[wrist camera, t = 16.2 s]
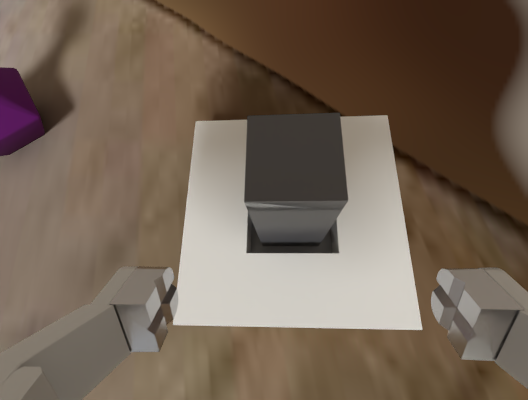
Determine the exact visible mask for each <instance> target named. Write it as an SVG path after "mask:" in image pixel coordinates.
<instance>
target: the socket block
mask: <svg viewBox="0 0 528 400" xmlns="http://www.w3.org/2000/svg"><path fill="white" fill-rule="evenodd" d="M340 119H341V129H342V139H343V150H344V160H345V171H346V181H347V192H348V202H347V203H346V205H345V206H344V208H343V209H342V211H341V213H340V214H339V216H338V217H337V219H336V220H335V222H334V223H333V225H332V226H331V228H330V230H329V231H328V233H327V234H326V236H325V237H324V239H323V240H322V242H321V243H320V245H319V246H262V244H261V242H260V239H259V237H258V234H257V232H256V229H255V227H254V225H253V222H252V220H251V217H250V215H249V212H248V210H247V207H246V205H245V203H244V192H245V165H246V139H247V120H220V121H196V124H195V133H194V142H193V151H192V160H191V169H190V178H189V187H188V195H187V204H186V213H185V222H184V231H183V240H182V249H181V258H180V267H179V276H178V285H177V292H178V306H177V312H176V314H175V317H174V321H173V325H200V326H250V327H300V328H350V329H400V330H422V325H421V318H420V312H419V306H418V300H417V294H416V288H415V282H414V275H413V269H412V263H411V257H410V251H409V245H408V239H407V232H406V226H405V220H404V214H403V208H402V202H401V196H400V189H399V183H398V177H397V171H396V165H395V159H394V152H393V146H392V140H391V134H390V128H389V122H388V116H387V115H380V116H347V117H340Z"/></svg>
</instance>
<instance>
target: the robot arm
mask: <svg viewBox="0 0 528 400" xmlns="http://www.w3.org/2000/svg"><path fill="white" fill-rule="evenodd" d="M173 279H174V274H173V271H172V269H171V268H169V267H141V266H139V267H132V266H124V267H121V268H119V269H118V271H117V272H116V273H115V274H114V276H113V277H112V278H111V279H110V281H109V282H108V283H107V284H106V285H105V287H104V288H103V289H102V290H101V292H100V293H99V294H98V295H97V297H96V298H95V299H94V300H93V301H92V303H91V304H90V305H83V306H82V307H80V308H78V309H76V310H75V311H73V312H71V313H69V314H68V315H66V316H64V317H62V318H61V319H59V320H57V321H55V322H54V323H52V324H50V325H48V326H47V327H45V328H43V329H41V330H40V331H38V332H36V333H34V334H33V335H31V336H29V337H27V338H26V339H24V340H22V341H21V342H19V343H17V344H15V345H14V346H12V347H10V348H8V349H7V350H5V351H3V352H1V353H0V400H82V399H83V398H84V397H85V396H86V395H87V394H88V393H89V392H90V391H91V390H93V389H94V388H95V387H96V386H97V385H98V384H99V383H100V382H101V381H102V380H103V379H104V378H105V377H106V376H107V375H108V374H110V373H111V372H112V371H113V370H114V369H115V368H116V367H117V366H118V365H119V364H120V363H121V362H122V361H123V360H124V359H125V358H127V357H128V356H129V355H130V354H131V353H130V352H160V349H161V347H162V345H163V342H164V340H165V338H166V335H167V333H168V329H167V324H168V323H169V322H171V321H172V320H173V319H174V317H175V314H176V312H177V306H178V292H177V288H176V287H175V286H174V285H172V284H171V283H172V281H173ZM436 280H437V281H438V283H439V284H440V286H438V287H437V288H436V289H435V290H433V293H432V297H431V305H432V311H433V313H434V316H435V318H436V320H437V321H438V323H439V324H440V325H442V326H443V327H444V328H446V329H447V330H449V332H448V336H447V337H448V339H449V341H450V342H451V344H452V345H453V347H454V349H455V350H456V352H457V353H458V355H459V357H460V358H461V359H468V360H487V361H495V363H496V364H497V365H499V366H500V367H501V368H502V369H504V370H505V371H506V372H507V373H509V374H510V375H511V376H512V377H514V378H515V379H516V380H517V381H519V382H520V383H521V384H522V385H524V386H525V387H526V388H527V389H528V292H527V291H526V290H525V289H524V288H522V287H521V286H520V285H519V284H518V283H517V282H516V281H515V280H514V279H512V278H511V277H510V276H509V275H508V274H507V273H506V272H505V271H503V270H501V269H499V268H478V269H441V270H440V271H439V272H438V275H437V279H436Z"/></svg>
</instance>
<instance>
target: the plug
mask: <svg viewBox="0 0 528 400" xmlns="http://www.w3.org/2000/svg"><path fill="white" fill-rule="evenodd" d="M347 202H348V192H347V181H346V171H345V160H344V150H343V139H342V129H341V119H340V113H315V114H285V115H254V116H247V139H246V165H245V192H244V203H245V205H246V207H247V210H248V212H249V215H250V217H251V220H252V222H253V225H254V227H255V229H256V232H257V234H258V237H259V239H260V242H261V244H262V246H319V245H320V243H321V242H322V240H323V239H324V237H325V236H326V234H327V233H328V231H329V230H330V228H331V226H332V225H333V223H334V222H335V220H336V219H337V217H338V216H339V214H340V213H341V211H342V209H343V208H344V206H345V205H346V203H347Z"/></svg>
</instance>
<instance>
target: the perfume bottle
mask: <svg viewBox="0 0 528 400" xmlns="http://www.w3.org/2000/svg"><path fill="white" fill-rule="evenodd" d="M44 134H45V131H44V127H43V124H42V120H41V117H40V115H39V113H38V111H37V109H36V107H35V105H34V103H33V101H32V99H31V96H30V94H29V92H28V90H27V88H26V86H25V84H24V82H23V80H22V78H21V76H20V74H19V72H18V71H17V69H15V68H0V156H4V155H10V154H11V153H13V152H15V151H17V150H18V149H20V148H22V147H24V146H25V145H27V144H29V143H30V142H32V141H34V140H36V139H37V138H39V137H41V136H43V135H44Z"/></svg>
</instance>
